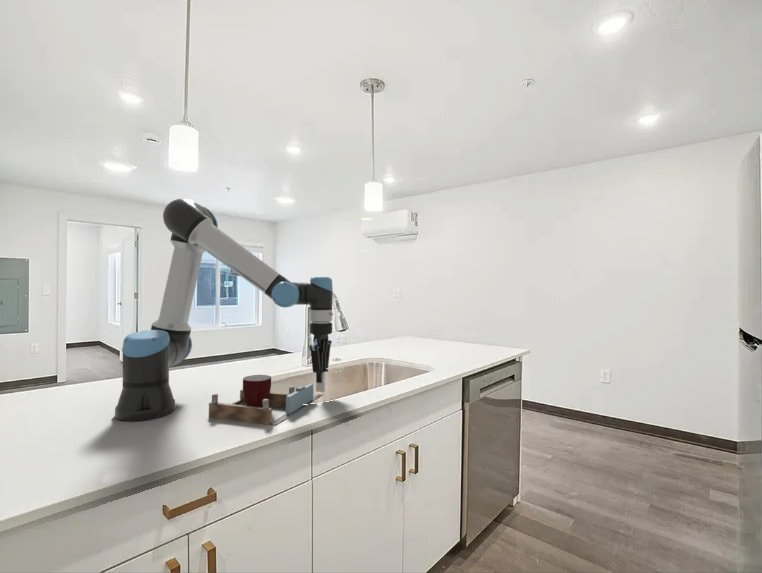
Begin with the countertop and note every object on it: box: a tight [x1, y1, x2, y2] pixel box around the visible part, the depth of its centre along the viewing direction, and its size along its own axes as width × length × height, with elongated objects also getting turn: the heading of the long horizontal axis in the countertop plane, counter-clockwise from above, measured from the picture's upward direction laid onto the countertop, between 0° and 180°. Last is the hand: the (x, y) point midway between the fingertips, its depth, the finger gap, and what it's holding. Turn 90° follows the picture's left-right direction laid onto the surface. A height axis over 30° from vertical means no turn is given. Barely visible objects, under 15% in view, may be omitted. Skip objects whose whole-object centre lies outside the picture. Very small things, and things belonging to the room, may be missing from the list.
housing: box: [208, 385, 324, 427], centre depth 122 cm, size 22×31×6 cm
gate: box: [285, 383, 314, 414], centre depth 120 cm, size 2×15×6 cm, turn 164°
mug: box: [242, 374, 272, 408], centre depth 115 cm, size 10×8×10 cm
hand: (320, 391), depth 132 cm, fingers closed
